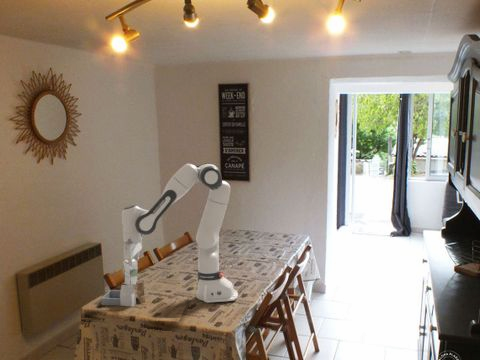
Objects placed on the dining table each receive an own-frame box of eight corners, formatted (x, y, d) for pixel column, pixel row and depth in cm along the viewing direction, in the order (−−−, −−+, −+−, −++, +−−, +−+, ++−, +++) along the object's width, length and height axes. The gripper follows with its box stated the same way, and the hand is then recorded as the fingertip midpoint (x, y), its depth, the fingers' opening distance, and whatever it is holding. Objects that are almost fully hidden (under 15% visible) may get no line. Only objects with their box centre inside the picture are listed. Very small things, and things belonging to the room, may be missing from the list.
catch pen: (127, 296, 227) (127, 290, 227) (120, 305, 216) (120, 298, 215) (109, 296, 228) (109, 290, 227) (101, 305, 216) (101, 298, 216)
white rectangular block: (132, 306, 213) (131, 287, 212) (120, 305, 215) (119, 286, 214) (135, 303, 217) (135, 285, 216) (124, 302, 219) (123, 284, 218)
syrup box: (132, 281, 250) (131, 258, 249) (138, 283, 247) (137, 259, 245) (124, 284, 246) (123, 260, 245) (130, 286, 242) (129, 262, 241)
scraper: (142, 297, 226) (140, 279, 224) (145, 301, 219) (144, 283, 218) (136, 298, 224) (135, 280, 223) (140, 303, 218) (138, 284, 217)
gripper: (131, 241, 207) (133, 269, 208) (143, 232, 227) (145, 257, 229) (119, 242, 207) (121, 269, 209) (132, 232, 228) (134, 257, 229)
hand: (134, 263), depth 219 cm, fingers open, 8 cm apart
